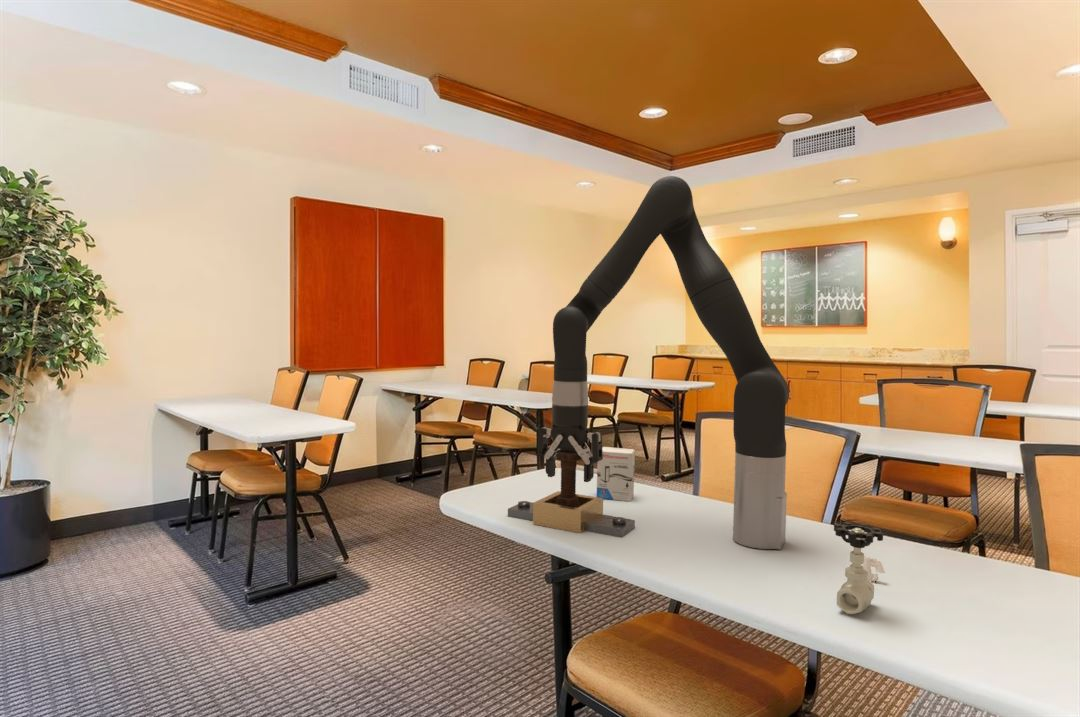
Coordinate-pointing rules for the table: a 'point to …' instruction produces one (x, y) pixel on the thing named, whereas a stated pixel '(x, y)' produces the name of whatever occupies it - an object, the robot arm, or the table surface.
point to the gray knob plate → (610, 525)
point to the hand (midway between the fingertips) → (569, 478)
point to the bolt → (568, 477)
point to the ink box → (616, 474)
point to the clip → (873, 562)
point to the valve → (856, 568)
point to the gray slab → (522, 510)
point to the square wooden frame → (566, 512)
